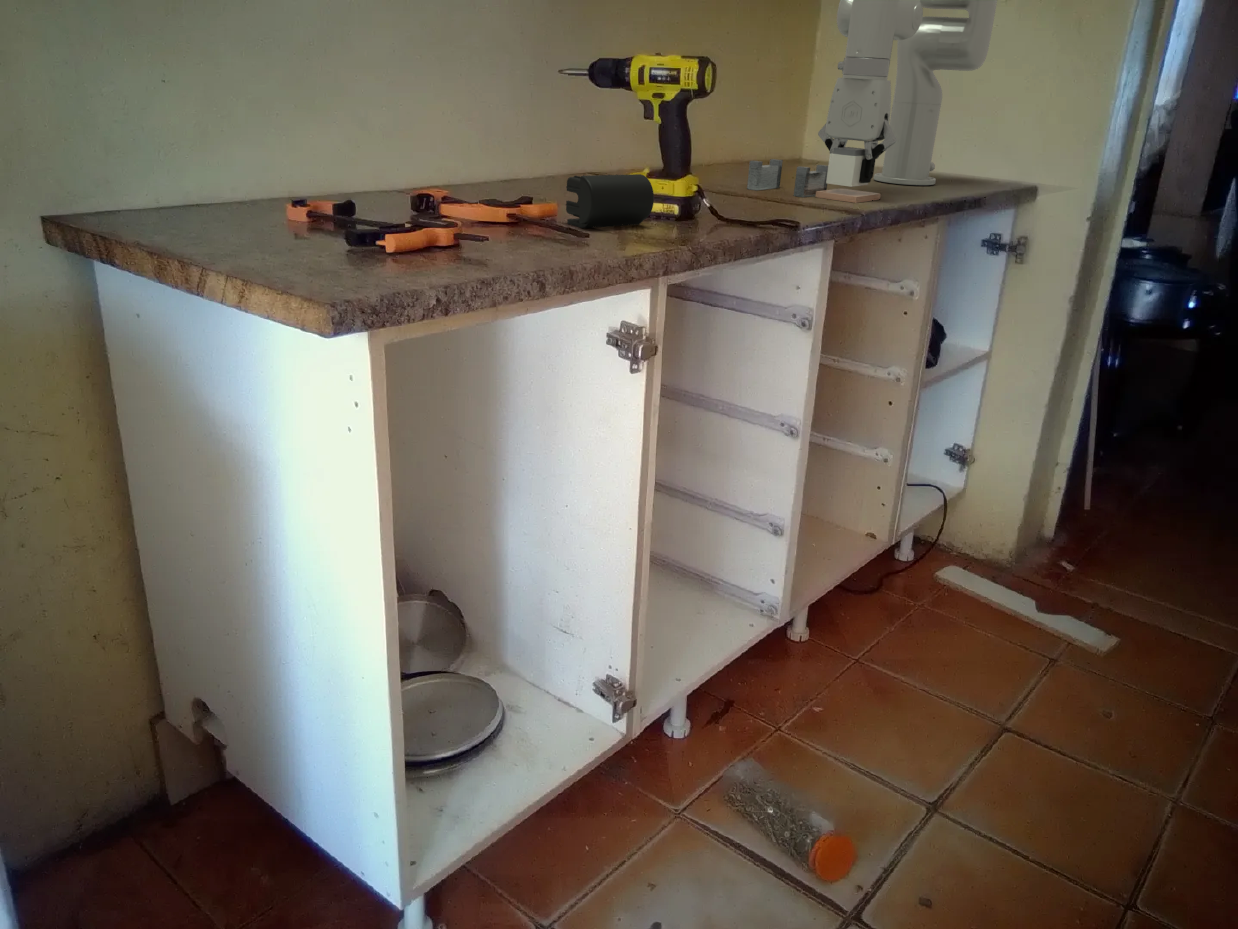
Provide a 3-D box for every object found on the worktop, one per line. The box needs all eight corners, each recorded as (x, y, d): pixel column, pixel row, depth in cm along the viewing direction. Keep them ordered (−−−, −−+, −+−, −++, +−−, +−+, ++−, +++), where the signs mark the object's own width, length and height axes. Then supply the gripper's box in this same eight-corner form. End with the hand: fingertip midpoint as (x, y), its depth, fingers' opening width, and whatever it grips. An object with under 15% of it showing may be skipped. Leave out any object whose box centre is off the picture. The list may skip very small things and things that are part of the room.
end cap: (591, 232, 123) (593, 178, 120) (562, 223, 128) (564, 172, 125) (652, 228, 128) (656, 176, 126) (623, 220, 133) (625, 170, 131)
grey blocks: (770, 186, 180) (773, 158, 178) (826, 194, 173) (829, 165, 171) (746, 188, 174) (749, 160, 172) (803, 197, 167) (806, 167, 165)
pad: (840, 193, 175) (841, 188, 174) (879, 199, 170) (880, 193, 170) (815, 196, 168) (816, 191, 168) (855, 202, 164) (856, 196, 163)
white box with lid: (842, 181, 171) (847, 146, 169) (867, 184, 168) (873, 149, 166) (826, 183, 167) (830, 147, 164) (851, 186, 164) (856, 150, 162)
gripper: (811, 66, 163) (797, 176, 170) (902, 71, 153) (884, 187, 160) (832, 68, 169) (819, 174, 176) (922, 73, 158) (904, 185, 166)
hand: (850, 179), depth 168 cm, fingers closed on white box with lid, 5 cm apart
